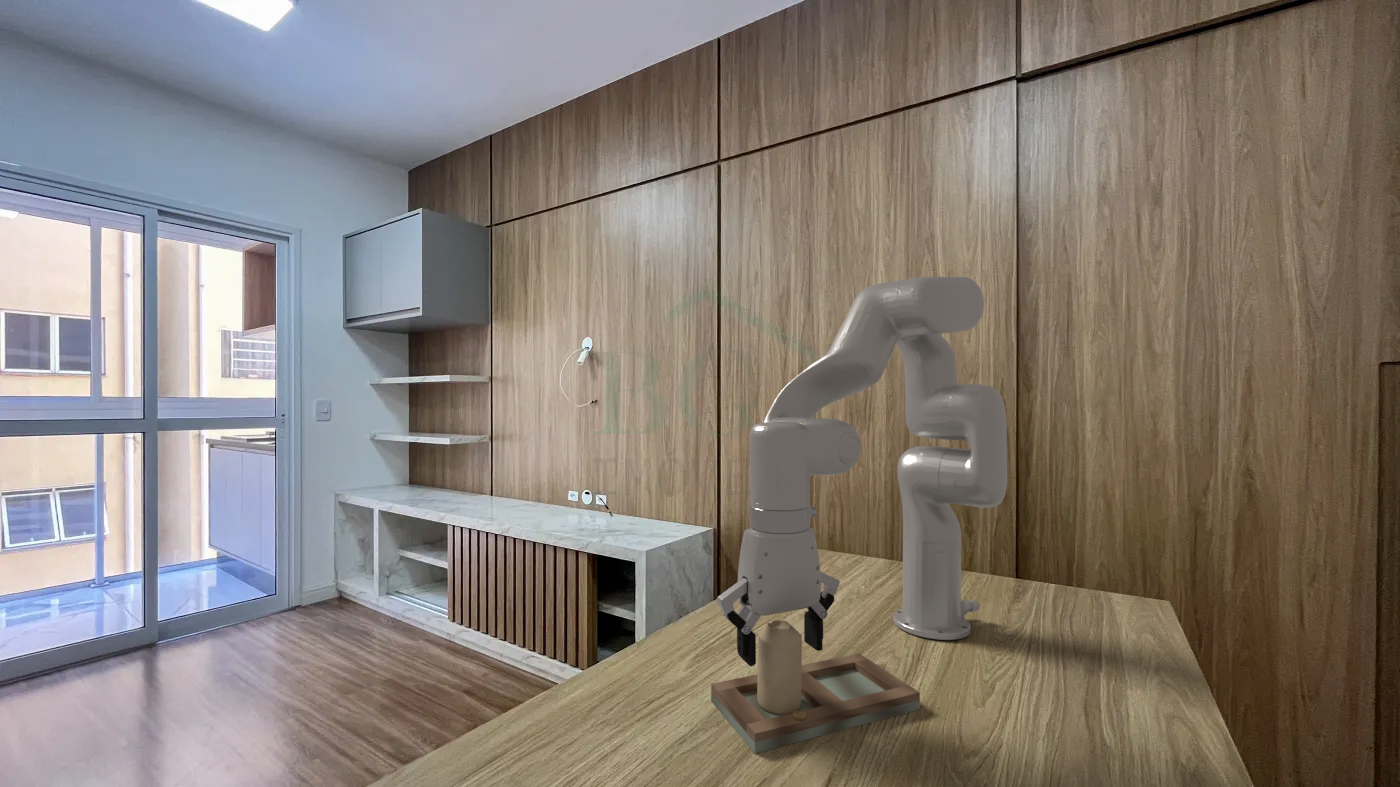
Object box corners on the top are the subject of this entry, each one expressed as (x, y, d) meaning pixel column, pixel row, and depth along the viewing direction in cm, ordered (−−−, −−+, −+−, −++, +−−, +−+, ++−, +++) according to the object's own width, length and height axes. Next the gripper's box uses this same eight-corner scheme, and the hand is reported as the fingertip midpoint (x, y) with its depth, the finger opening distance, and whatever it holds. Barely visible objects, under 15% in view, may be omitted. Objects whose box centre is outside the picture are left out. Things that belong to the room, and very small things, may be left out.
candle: (800, 718, 68) (800, 634, 69) (754, 711, 70) (755, 630, 70) (802, 695, 74) (802, 618, 74) (760, 689, 75) (760, 614, 75)
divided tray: (859, 668, 84) (859, 650, 84) (919, 709, 73) (919, 689, 73) (711, 700, 75) (711, 680, 75) (754, 753, 64) (754, 730, 64)
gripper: (819, 507, 79) (820, 630, 79) (705, 520, 72) (707, 654, 72) (854, 518, 72) (855, 653, 72) (731, 533, 65) (733, 682, 65)
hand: (781, 653), depth 72 cm, fingers open, 9 cm apart
